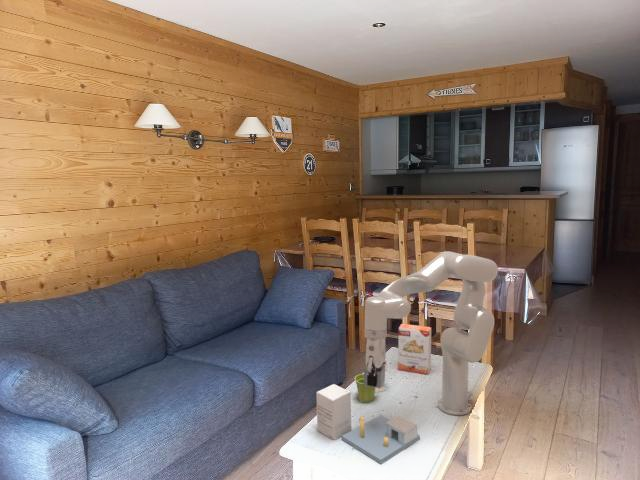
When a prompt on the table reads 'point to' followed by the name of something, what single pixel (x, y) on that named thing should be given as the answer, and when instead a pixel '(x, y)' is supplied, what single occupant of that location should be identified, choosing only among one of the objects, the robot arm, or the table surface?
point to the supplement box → (333, 411)
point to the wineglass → (385, 371)
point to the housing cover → (401, 429)
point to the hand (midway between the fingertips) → (374, 381)
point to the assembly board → (375, 440)
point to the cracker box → (414, 348)
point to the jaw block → (380, 376)
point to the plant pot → (364, 389)
